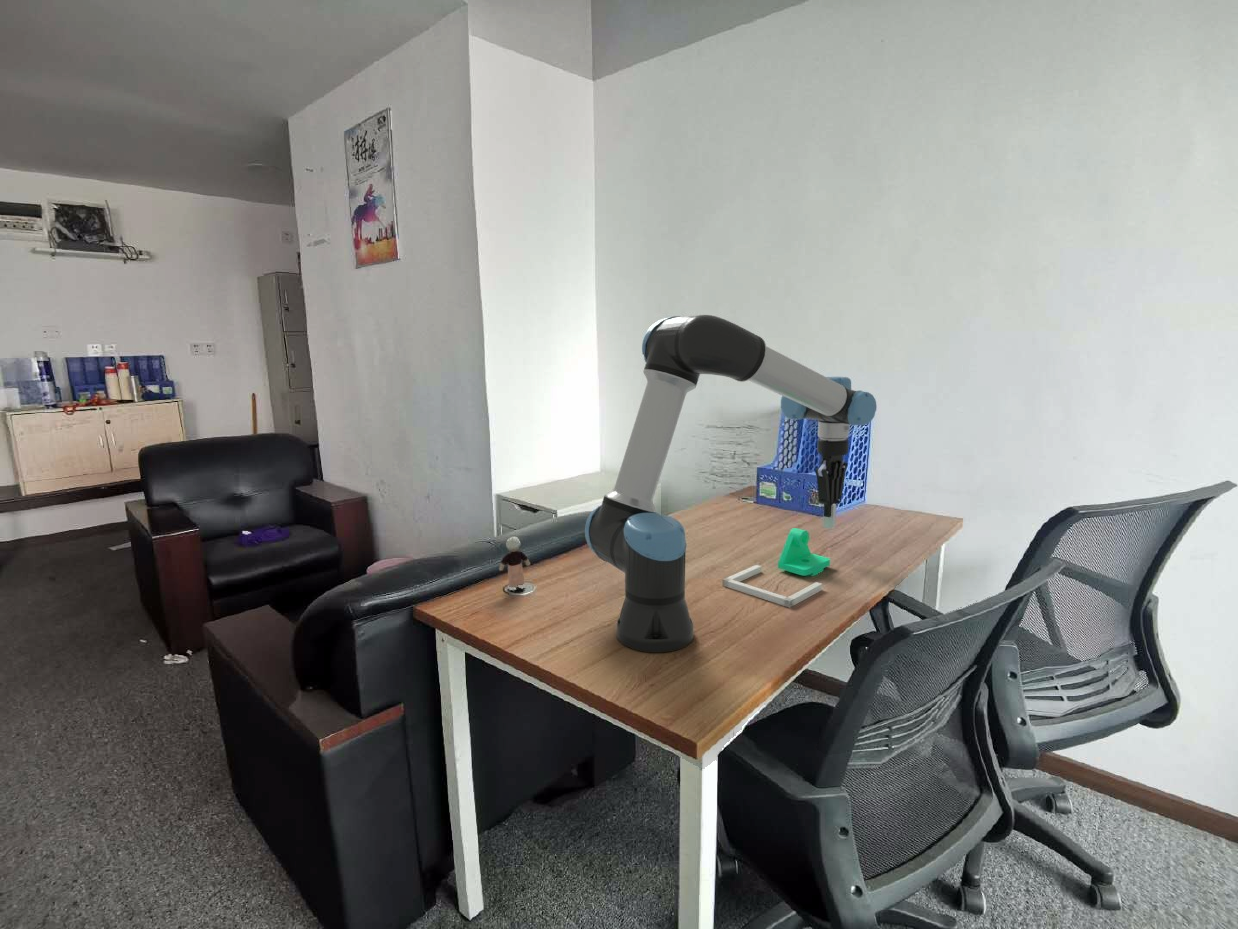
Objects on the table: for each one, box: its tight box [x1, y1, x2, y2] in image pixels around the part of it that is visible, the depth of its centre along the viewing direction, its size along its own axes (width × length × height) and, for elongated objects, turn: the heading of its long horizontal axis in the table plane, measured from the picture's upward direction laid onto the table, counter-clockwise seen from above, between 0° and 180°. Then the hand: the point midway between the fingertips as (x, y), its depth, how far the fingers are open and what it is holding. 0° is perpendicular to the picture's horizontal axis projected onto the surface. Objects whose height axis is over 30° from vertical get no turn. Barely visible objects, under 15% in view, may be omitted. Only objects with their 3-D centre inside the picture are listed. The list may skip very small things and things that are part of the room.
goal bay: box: [721, 564, 823, 609], centre depth 147 cm, size 14×18×2 cm
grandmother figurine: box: [498, 536, 531, 588], centre depth 147 cm, size 8×4×13 cm, turn 134°
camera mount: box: [777, 527, 831, 577], centre depth 157 cm, size 12×8×10 cm, turn 131°
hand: (829, 527), depth 163 cm, fingers closed
